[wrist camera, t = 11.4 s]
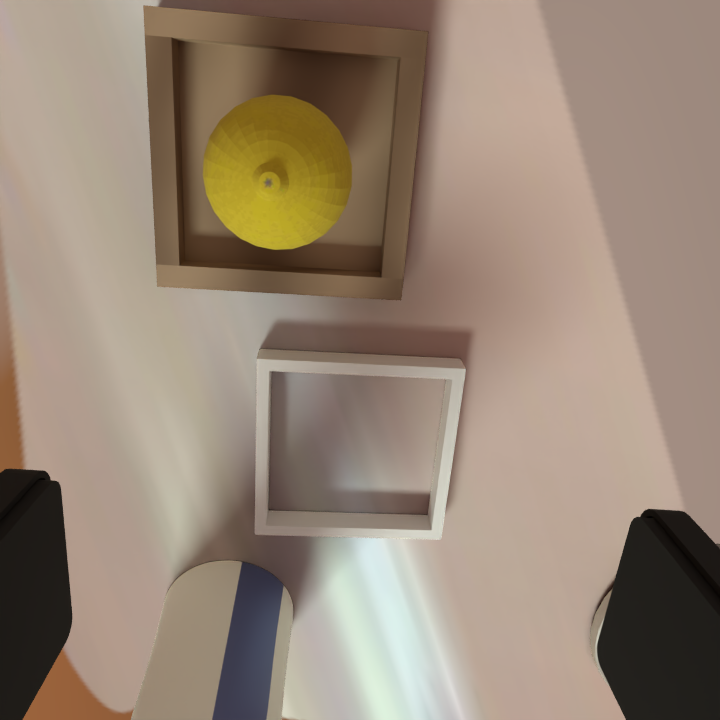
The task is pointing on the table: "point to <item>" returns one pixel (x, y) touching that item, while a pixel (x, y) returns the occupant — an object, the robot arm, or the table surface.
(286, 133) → the lemon
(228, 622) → the water bottle
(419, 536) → the frame
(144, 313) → the table surface
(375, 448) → the table surface
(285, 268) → the tray
